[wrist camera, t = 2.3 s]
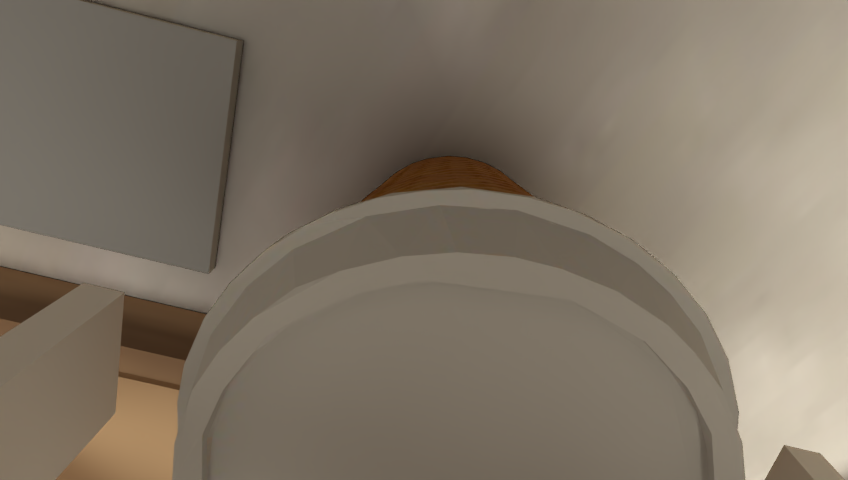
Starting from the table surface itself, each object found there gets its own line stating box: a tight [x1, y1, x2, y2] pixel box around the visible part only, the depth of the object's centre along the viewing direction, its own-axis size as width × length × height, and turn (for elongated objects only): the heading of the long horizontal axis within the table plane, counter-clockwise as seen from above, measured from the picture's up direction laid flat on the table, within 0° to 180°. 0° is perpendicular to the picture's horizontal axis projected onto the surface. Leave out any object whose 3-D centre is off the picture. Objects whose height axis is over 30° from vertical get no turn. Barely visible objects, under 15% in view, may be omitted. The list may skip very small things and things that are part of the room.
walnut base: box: [0, 267, 207, 480], centre depth 21 cm, size 12×12×3 cm
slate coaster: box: [0, 0, 243, 274], centre depth 18 cm, size 8×8×1 cm
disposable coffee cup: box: [172, 156, 745, 480], centre depth 14 cm, size 10×10×12 cm
